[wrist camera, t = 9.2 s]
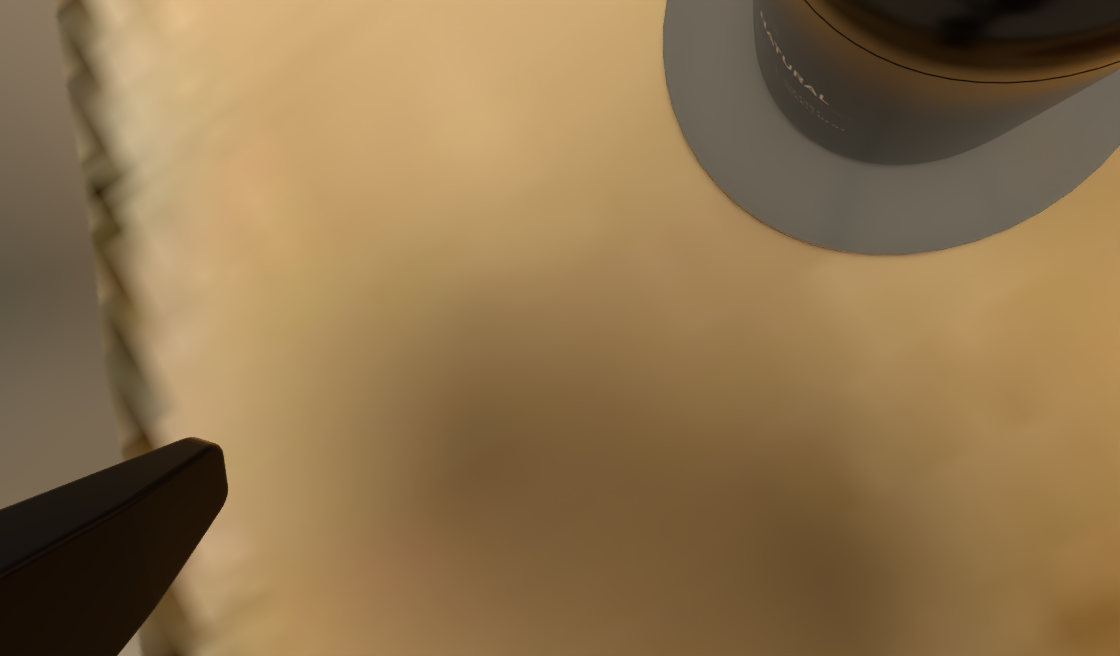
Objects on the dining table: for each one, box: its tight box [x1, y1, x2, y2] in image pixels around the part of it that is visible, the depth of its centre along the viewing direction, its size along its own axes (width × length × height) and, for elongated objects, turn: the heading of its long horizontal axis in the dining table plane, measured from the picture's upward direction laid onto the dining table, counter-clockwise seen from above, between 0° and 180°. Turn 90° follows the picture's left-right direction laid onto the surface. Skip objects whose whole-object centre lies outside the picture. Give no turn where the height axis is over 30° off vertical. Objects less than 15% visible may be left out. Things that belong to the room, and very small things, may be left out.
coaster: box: [663, 0, 1120, 255], centre depth 17 cm, size 11×11×1 cm
